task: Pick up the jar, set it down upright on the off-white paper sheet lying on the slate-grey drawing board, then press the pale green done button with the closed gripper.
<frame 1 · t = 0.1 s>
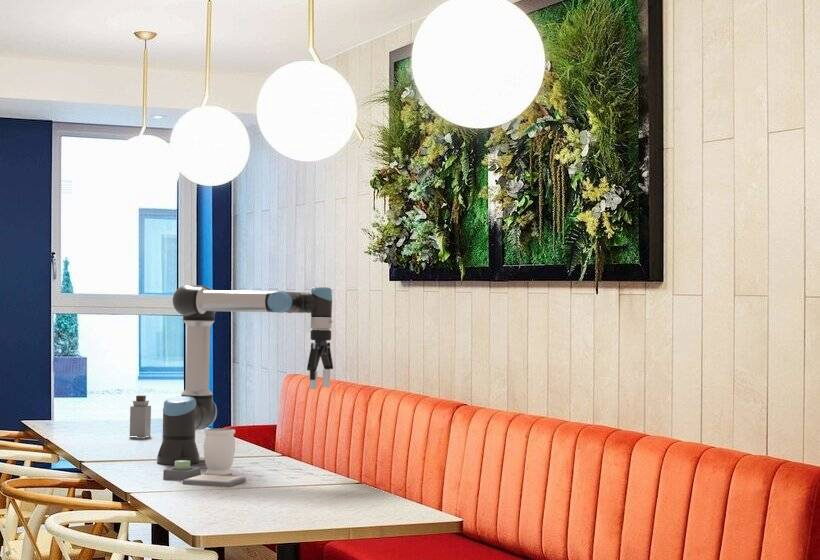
hand: (319, 388, 406), 28 cm above the table, fingers open, 13 cm apart
board: (214, 482, 359), on the table
done button: (182, 466, 367), point 4 cm above the table, slide at 0.0 cm
button housing: (182, 477, 367), on the table
perfume bottle: (139, 437, 484), on the table
jar: (218, 474, 378), on the table
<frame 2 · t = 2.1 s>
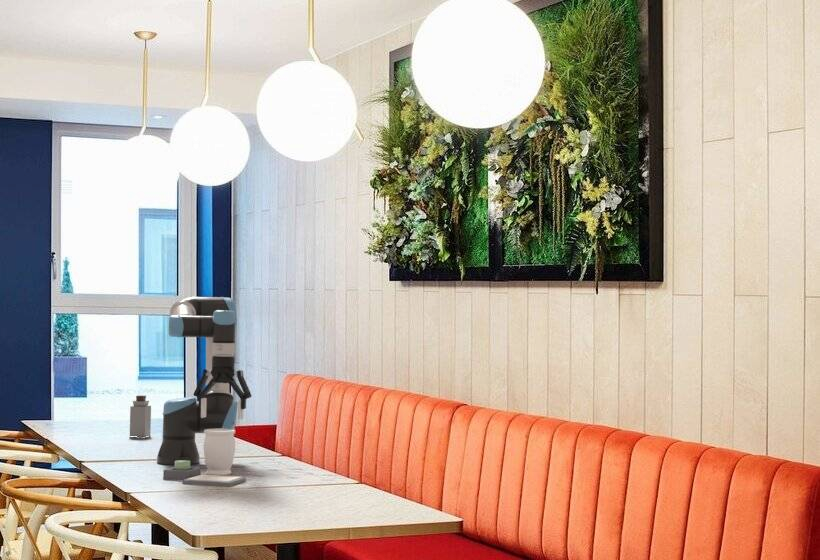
hand: (221, 418, 379), 19 cm above the table, fingers open, 13 cm apart
nothing on the table moved.
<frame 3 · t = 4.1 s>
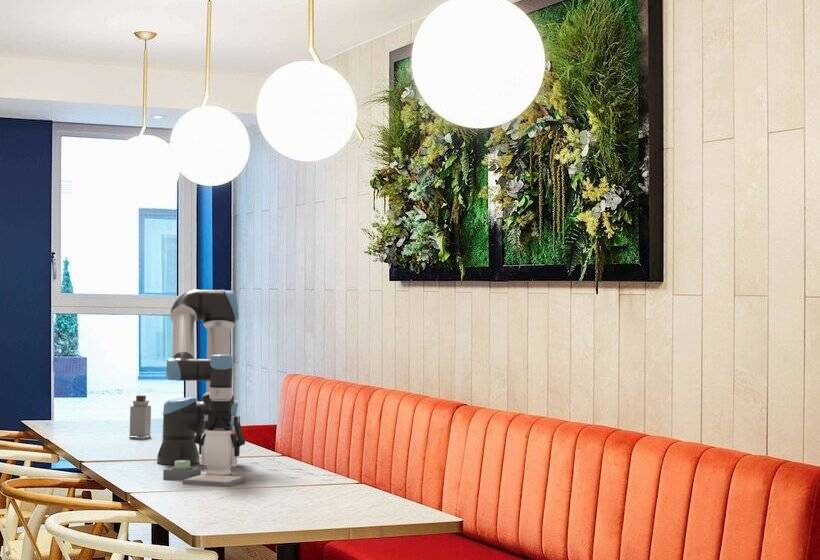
hand: (218, 465, 378), 3 cm above the table, fingers closed on jar, 10 cm apart
jar: (218, 474, 378), on the table, touching gripper
everything else where it was.
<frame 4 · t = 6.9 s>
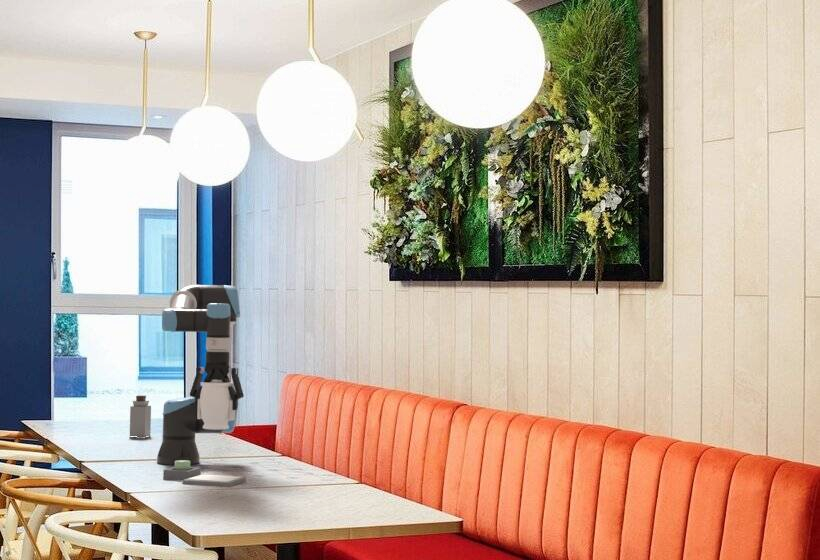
hand: (216, 419, 360), 20 cm above the table, fingers closed on jar, 10 cm apart
jar: (215, 429, 359), point 17 cm above the table, touching gripper
everything else where it was.
when the fingers open (6 cm above the table, at t = 10.1 s): jar drops 2 cm, resting on board.
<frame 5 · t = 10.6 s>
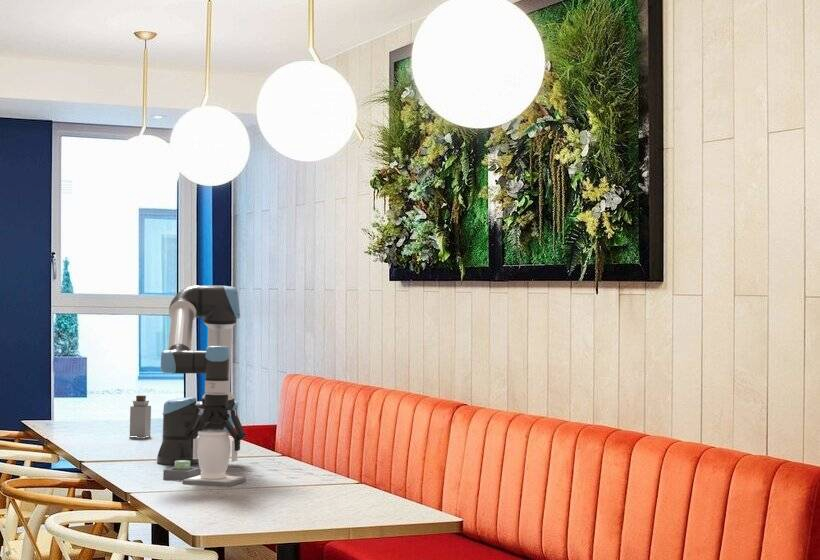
hand: (214, 460, 359), 7 cm above the table, fingers open, 13 cm apart
jar: (213, 478, 359), point 1 cm above the table, touching board
everything else where it was.
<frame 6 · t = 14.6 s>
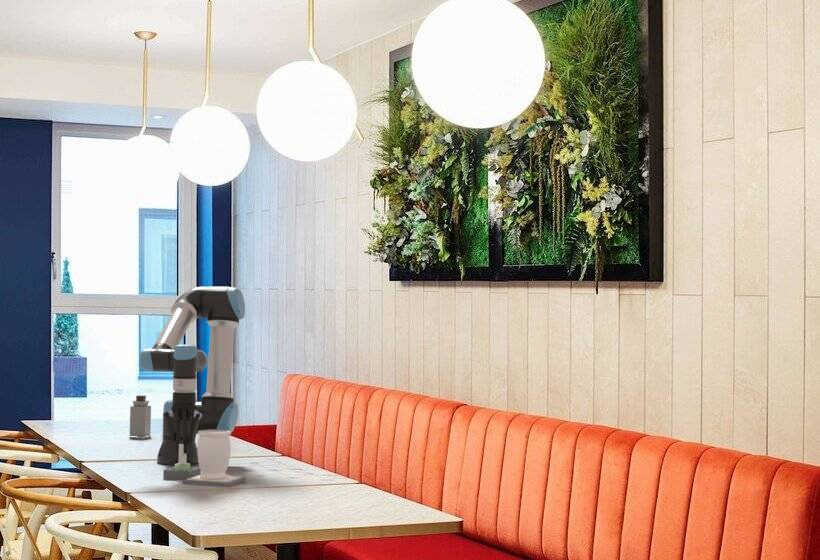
hand: (182, 463, 367), 5 cm above the table, fingers closed
done button: (182, 469, 367), point 3 cm above the table, slide at 0.9 cm, touching gripper
everything else where it was.
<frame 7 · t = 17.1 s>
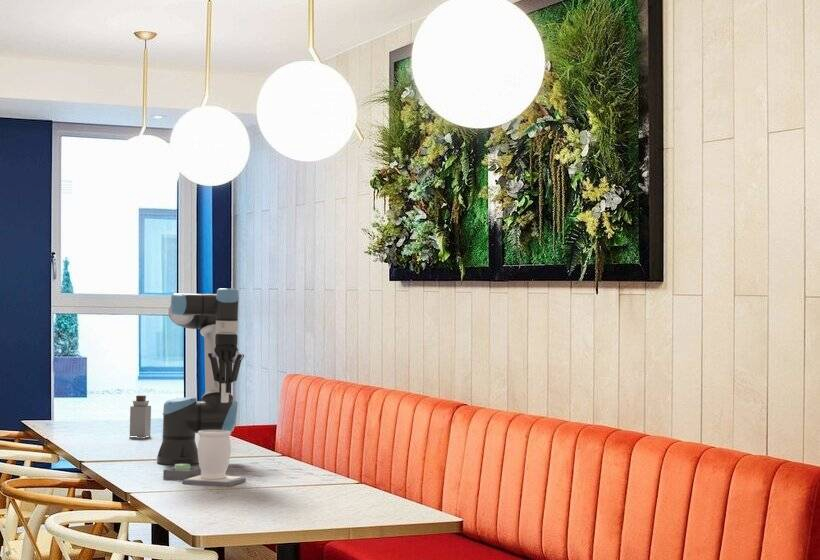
hand: (224, 402, 381), 24 cm above the table, fingers closed
done button: (182, 469, 367), point 3 cm above the table, slide at 1.1 cm
everything else where it was.
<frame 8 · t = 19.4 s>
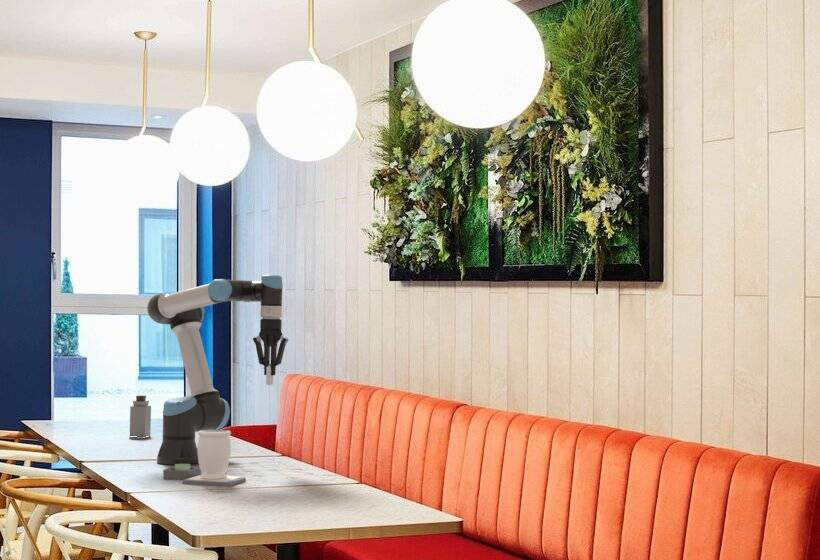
hand: (269, 384, 397), 29 cm above the table, fingers closed
nothing on the table moved.
at the end: jar inside the target area on the board (0.4 cm from its centre), point 1.3 cm above the board's base; jar tilted 0°; done button slide at 1.1 cm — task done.
